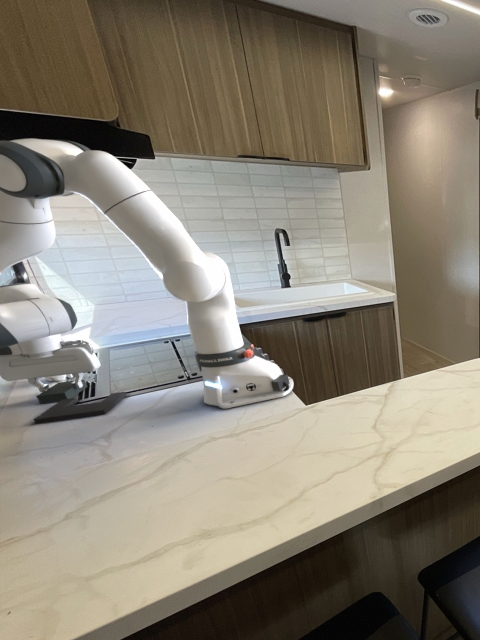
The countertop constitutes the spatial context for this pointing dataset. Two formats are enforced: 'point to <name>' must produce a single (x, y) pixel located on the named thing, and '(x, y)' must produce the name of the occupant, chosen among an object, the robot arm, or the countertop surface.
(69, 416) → the notch mat
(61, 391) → the pad
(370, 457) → the countertop surface
